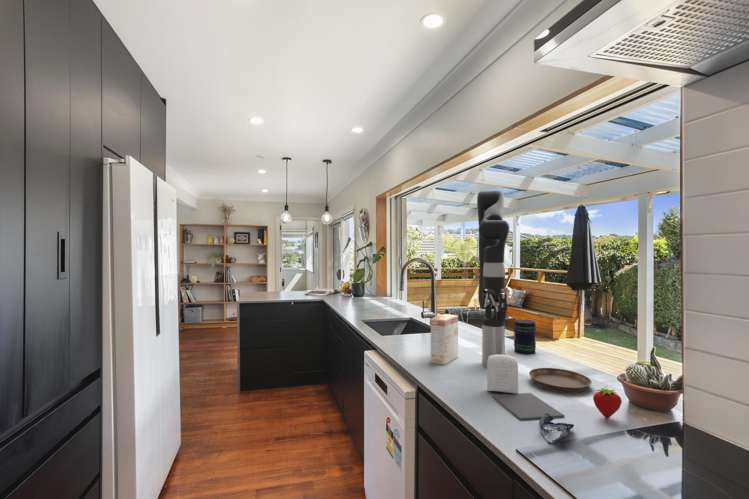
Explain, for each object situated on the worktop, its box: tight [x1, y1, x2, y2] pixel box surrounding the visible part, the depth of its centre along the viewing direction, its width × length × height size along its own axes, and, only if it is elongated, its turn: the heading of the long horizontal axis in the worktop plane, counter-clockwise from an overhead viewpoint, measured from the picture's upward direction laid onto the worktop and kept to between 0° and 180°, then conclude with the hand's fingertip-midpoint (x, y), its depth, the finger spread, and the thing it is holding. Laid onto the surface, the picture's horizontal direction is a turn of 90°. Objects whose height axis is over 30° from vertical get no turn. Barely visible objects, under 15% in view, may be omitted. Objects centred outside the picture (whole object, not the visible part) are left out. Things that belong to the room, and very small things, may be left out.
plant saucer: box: [528, 367, 592, 394], centre depth 139 cm, size 21×21×3 cm
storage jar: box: [513, 319, 537, 356], centre depth 185 cm, size 10×10×15 cm
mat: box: [491, 392, 565, 421], centre depth 120 cm, size 18×14×1 cm
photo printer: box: [486, 354, 519, 394], centre depth 132 cm, size 10×4×12 cm, turn 72°
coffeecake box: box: [430, 313, 459, 366], centre depth 171 cm, size 15×7×20 cm, turn 144°
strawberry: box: [592, 384, 622, 419], centre depth 111 cm, size 6×8×10 cm
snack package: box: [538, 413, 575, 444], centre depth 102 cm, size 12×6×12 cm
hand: (493, 319), depth 138 cm, fingers open, 8 cm apart
